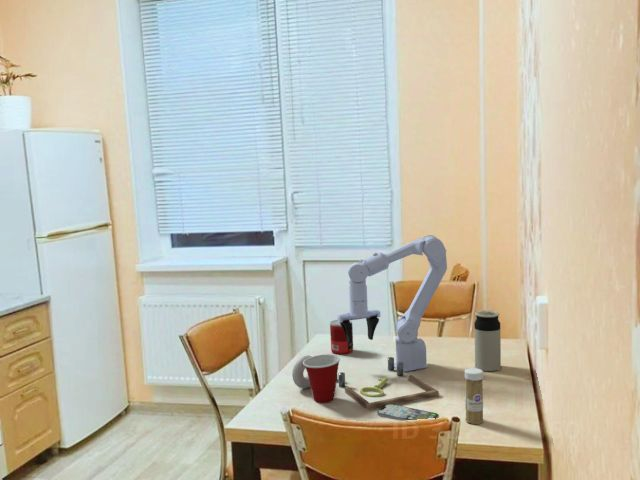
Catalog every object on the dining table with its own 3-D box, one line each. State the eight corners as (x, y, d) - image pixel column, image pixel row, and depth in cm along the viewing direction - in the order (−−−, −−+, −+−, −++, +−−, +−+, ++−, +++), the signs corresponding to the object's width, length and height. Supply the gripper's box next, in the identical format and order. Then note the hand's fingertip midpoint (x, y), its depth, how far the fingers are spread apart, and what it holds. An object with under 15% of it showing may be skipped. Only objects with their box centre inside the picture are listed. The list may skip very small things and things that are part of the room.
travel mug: (491, 373, 190) (490, 317, 188) (470, 368, 196) (469, 313, 194) (505, 367, 195) (505, 312, 193) (484, 362, 201) (483, 309, 199)
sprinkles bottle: (472, 426, 153) (472, 374, 152) (461, 419, 157) (460, 369, 156) (487, 422, 155) (486, 371, 153) (476, 416, 159) (475, 366, 158)
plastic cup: (305, 392, 181) (303, 353, 180) (341, 391, 181) (340, 352, 179) (303, 407, 170) (301, 365, 169) (342, 406, 170) (340, 364, 168)
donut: (298, 393, 180) (296, 361, 179) (290, 391, 183) (288, 358, 182) (322, 384, 187) (320, 352, 186) (314, 382, 190) (313, 350, 189)
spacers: (392, 368, 199) (392, 356, 199) (404, 376, 192) (404, 363, 191) (330, 379, 191) (329, 367, 191) (340, 387, 184) (339, 375, 183)
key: (388, 383, 187) (388, 377, 187) (382, 399, 175) (382, 391, 175) (365, 382, 189) (364, 376, 188) (358, 397, 177) (357, 390, 176)
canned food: (353, 354, 216) (352, 324, 215) (331, 355, 216) (329, 325, 215) (352, 348, 223) (351, 318, 222) (331, 349, 224) (329, 319, 222)
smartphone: (429, 424, 155) (375, 413, 162) (429, 428, 155) (375, 416, 162) (439, 413, 161) (387, 403, 169) (439, 417, 161) (387, 406, 169)
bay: (411, 379, 188) (411, 375, 188) (438, 396, 174) (438, 391, 174) (345, 392, 180) (344, 387, 180) (367, 410, 166) (367, 405, 166)
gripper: (373, 295, 204) (374, 334, 206) (333, 300, 199) (334, 340, 200) (382, 299, 198) (384, 339, 199) (341, 304, 192) (343, 346, 194)
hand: (359, 340), depth 199 cm, fingers open, 7 cm apart
